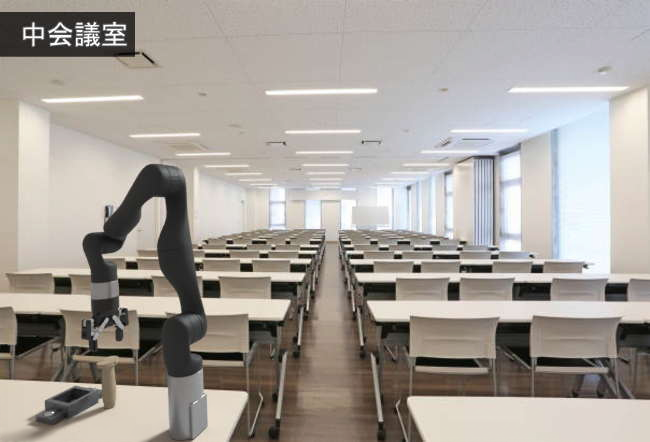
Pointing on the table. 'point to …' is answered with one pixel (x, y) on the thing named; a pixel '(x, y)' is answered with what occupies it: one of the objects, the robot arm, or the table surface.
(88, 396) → the bracket
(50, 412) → the chain end
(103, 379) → the handle
